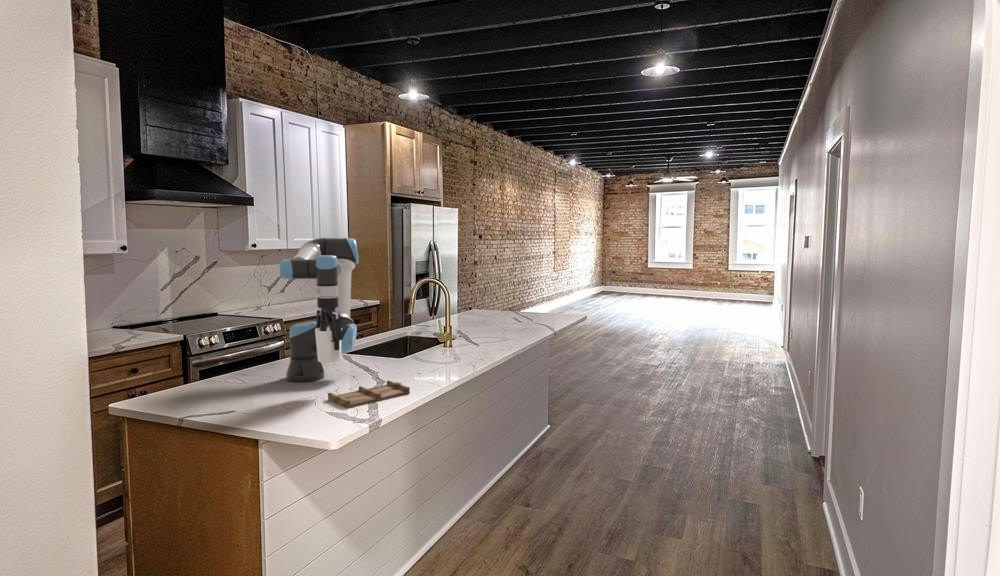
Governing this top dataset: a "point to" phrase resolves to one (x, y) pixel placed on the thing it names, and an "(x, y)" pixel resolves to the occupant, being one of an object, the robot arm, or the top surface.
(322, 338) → the candle holder
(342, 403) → the brown wooden flat tray
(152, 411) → the top surface
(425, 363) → the top surface
